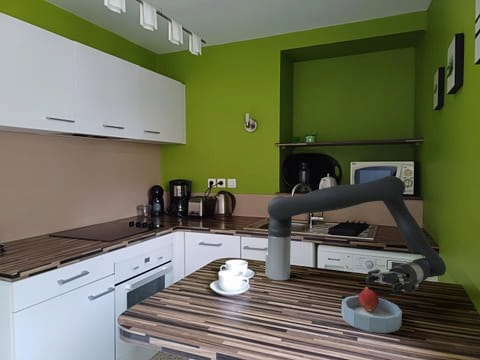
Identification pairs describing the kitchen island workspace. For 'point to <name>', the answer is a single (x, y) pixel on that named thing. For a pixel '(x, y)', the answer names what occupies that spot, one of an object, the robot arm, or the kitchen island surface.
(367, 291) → the onion
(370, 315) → the faceted shallow dish
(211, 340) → the kitchen island surface
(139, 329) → the kitchen island surface
